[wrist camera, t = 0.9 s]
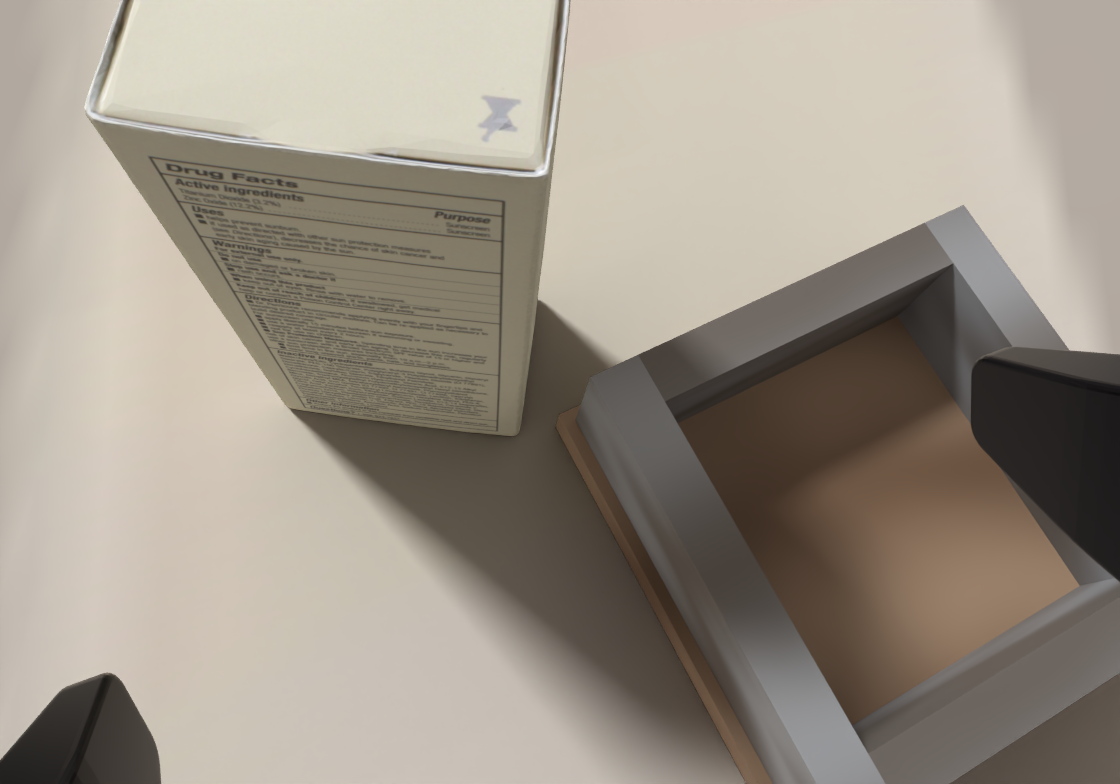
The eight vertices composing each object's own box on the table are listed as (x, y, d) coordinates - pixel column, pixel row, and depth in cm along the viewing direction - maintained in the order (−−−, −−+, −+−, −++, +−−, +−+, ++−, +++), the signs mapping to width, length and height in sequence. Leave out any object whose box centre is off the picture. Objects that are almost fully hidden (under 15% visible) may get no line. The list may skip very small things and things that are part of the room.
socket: (1135, 617, 23) (1263, 598, 19) (778, 843, 20) (847, 871, 17) (894, 267, 26) (966, 190, 22) (555, 426, 23) (571, 370, 20)
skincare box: (537, 292, 25) (596, -74, 13) (518, 448, 23) (565, 183, 12) (306, 261, 24) (161, -143, 13) (270, 417, 23) (71, 113, 11)
